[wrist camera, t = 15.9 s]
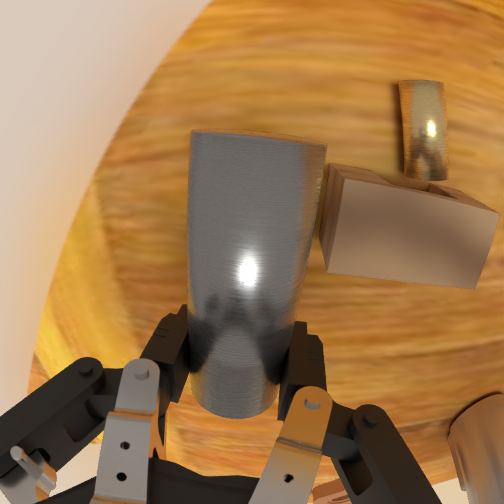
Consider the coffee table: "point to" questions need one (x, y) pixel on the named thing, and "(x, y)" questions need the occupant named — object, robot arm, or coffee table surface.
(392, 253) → the beam
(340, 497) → the bracket
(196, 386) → the axle
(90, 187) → the coffee table surface
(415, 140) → the cylinder
